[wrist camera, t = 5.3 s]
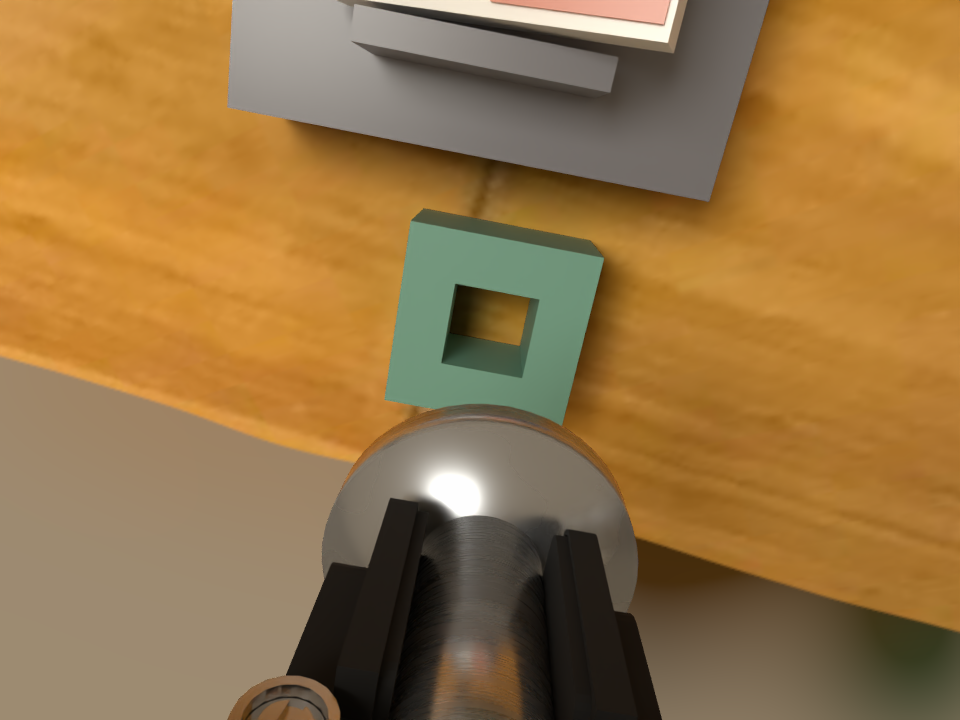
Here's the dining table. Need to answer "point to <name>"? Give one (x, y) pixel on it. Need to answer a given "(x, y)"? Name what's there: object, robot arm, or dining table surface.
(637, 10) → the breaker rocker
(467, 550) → the metal knob
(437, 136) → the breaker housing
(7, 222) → the dining table surface
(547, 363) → the stylus holder
